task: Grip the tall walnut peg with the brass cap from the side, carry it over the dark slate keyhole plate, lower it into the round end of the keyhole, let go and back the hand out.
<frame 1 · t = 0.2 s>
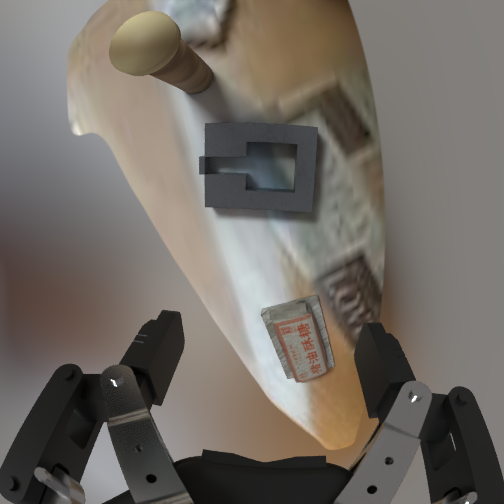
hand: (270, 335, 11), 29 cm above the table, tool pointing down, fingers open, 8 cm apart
keyhole plate: (271, 165, 36), on the table
packaged product: (300, 337, 48), on the table
walnut peg: (195, 77, 32), on the table
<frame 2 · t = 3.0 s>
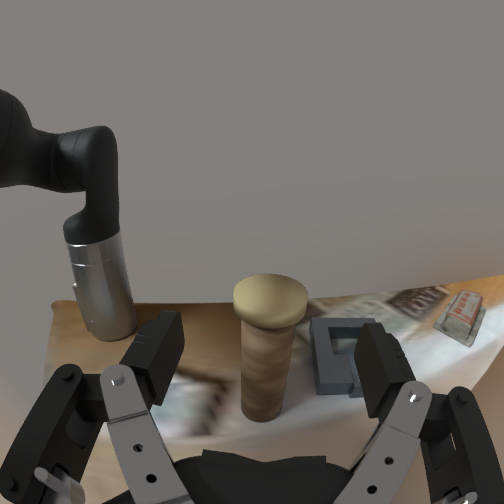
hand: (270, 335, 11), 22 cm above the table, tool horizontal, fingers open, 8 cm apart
keyhole plate: (346, 351, 39), on the table
packaged product: (460, 321, 44), on the table
walnut peg: (261, 406, 30), on the table
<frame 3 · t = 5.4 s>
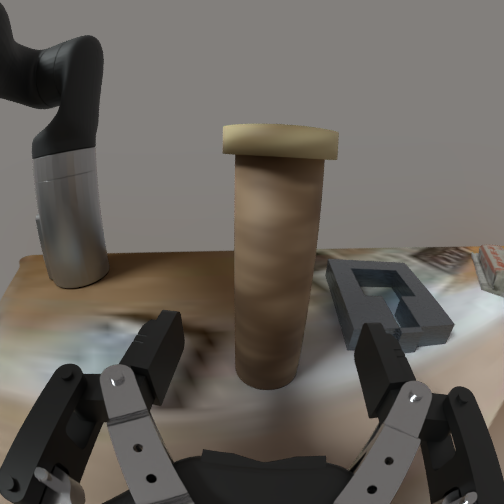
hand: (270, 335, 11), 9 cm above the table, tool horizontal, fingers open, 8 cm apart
keyhole plate: (377, 299, 30), on the table
packaged product: (494, 279, 35), on the table
walnut peg: (266, 366, 21), on the table
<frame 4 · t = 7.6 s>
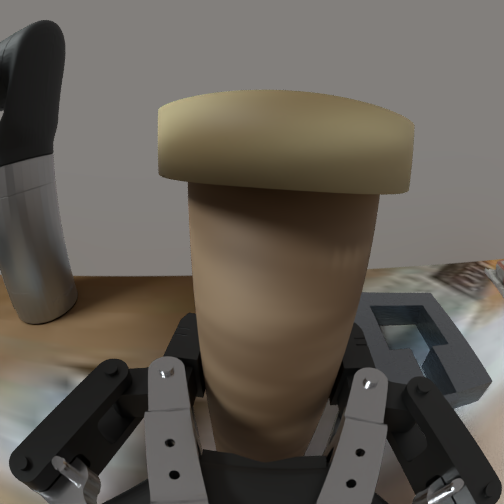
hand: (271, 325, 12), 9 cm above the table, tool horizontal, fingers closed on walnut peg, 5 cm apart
keyhole plate: (400, 344, 22), on the table
walnut peg: (259, 456, 13), on the table, touching gripper
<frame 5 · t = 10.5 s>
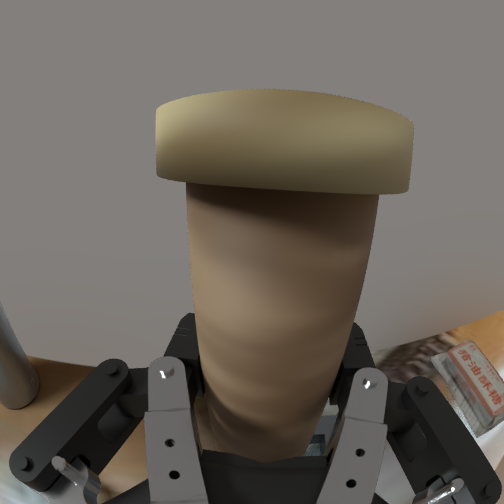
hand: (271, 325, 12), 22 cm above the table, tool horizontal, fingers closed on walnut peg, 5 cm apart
keyhole plate: (292, 467, 22), on the table
packaged product: (470, 391, 27), on the table
walnut peg: (258, 457, 13), point 13 cm above the table, touching gripper
when the fingers open (10 cm above the table, at t = 13.7 s): walnut peg drops 1 cm, resting in keyhole plate.
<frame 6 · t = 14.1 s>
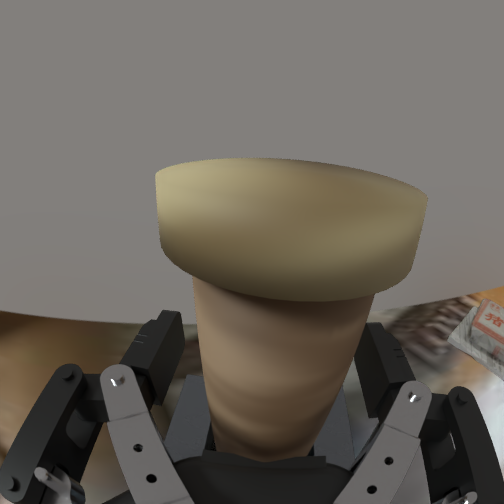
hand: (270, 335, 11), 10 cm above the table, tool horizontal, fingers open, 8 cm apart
keyhole plate: (257, 464, 14), on the table
walnut peg: (258, 465, 14), resting in keyhole plate
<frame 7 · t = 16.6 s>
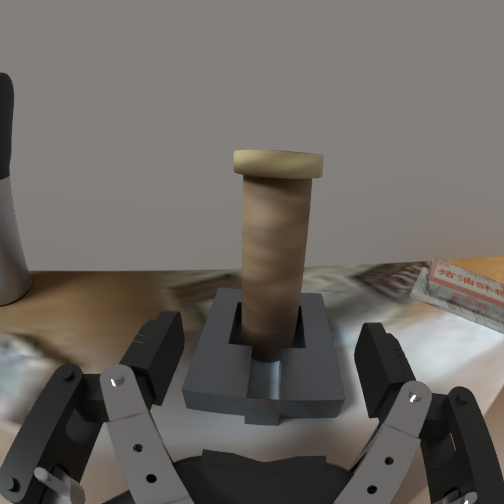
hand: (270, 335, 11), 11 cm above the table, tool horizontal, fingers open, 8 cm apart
keyhole plate: (266, 342, 26), on the table
packaged product: (462, 305, 31), on the table
walnut peg: (267, 343, 25), resting in keyhole plate
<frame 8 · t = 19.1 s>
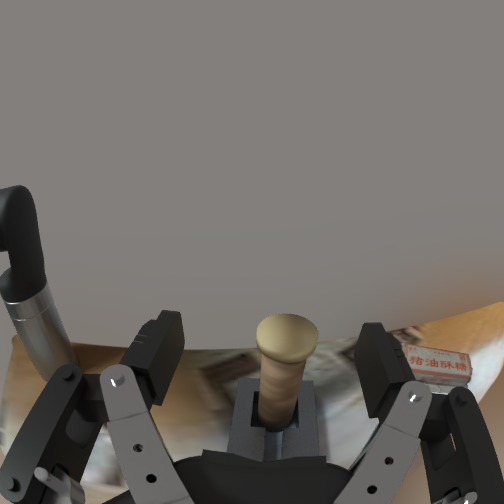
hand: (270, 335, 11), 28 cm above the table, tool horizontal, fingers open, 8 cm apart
keyhole plate: (273, 418, 34), on the table
packaged product: (427, 375, 40), on the table
walnut peg: (274, 418, 34), resting in keyhole plate
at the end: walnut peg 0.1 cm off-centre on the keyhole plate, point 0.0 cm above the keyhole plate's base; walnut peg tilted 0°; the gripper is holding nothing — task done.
